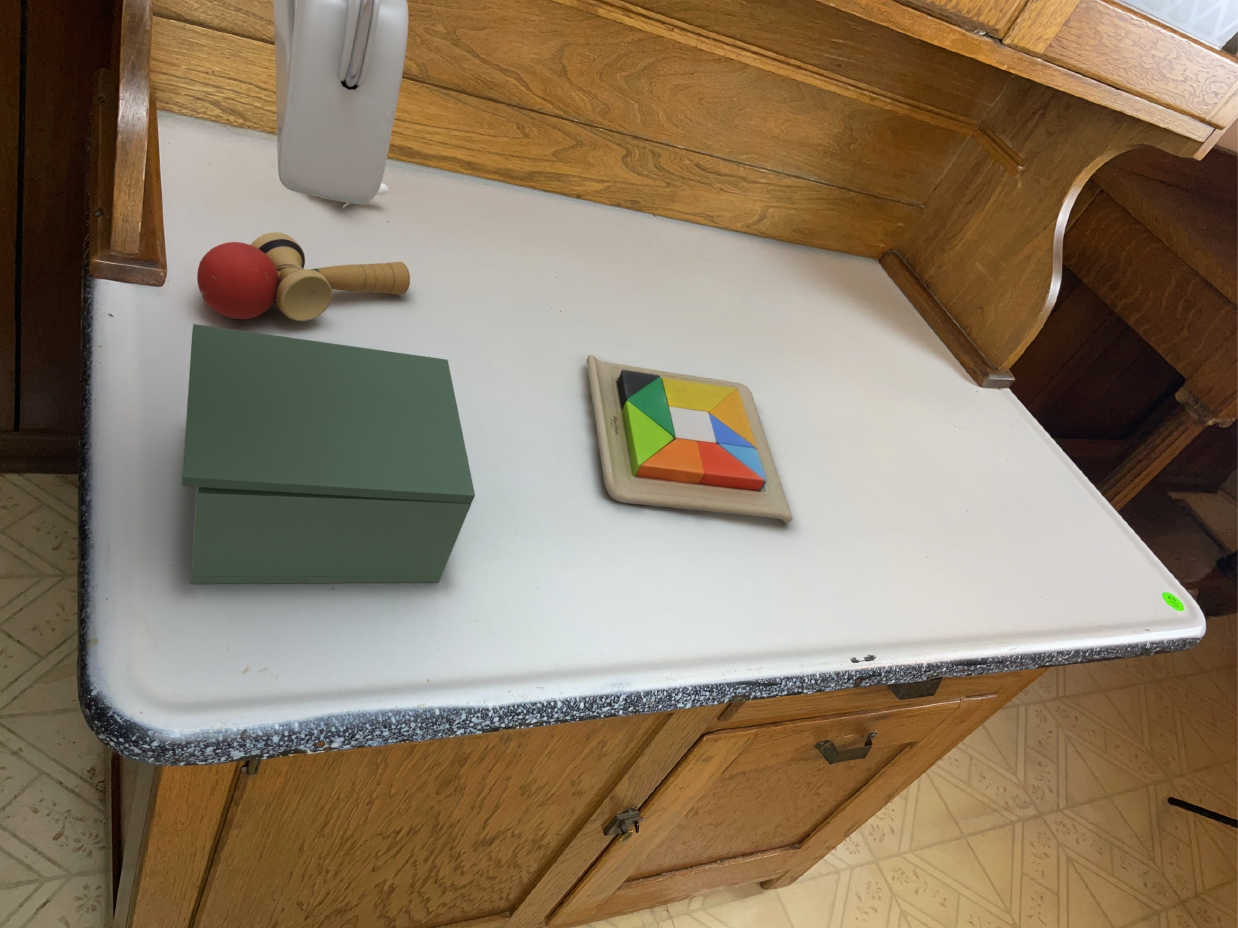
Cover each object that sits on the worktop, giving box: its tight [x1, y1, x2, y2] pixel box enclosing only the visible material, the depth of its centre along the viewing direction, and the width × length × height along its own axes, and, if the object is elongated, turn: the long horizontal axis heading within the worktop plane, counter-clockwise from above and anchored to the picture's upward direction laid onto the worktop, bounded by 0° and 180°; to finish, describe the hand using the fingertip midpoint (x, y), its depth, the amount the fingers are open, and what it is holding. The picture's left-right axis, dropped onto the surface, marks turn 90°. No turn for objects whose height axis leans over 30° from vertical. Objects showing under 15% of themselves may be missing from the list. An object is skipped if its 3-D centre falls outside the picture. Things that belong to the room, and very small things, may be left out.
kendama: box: [196, 231, 411, 322], centre depth 73 cm, size 8×6×18 cm
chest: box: [190, 487, 472, 585], centre depth 57 cm, size 16×13×9 cm
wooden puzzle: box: [586, 354, 793, 524], centre depth 79 cm, size 18×19×4 cm
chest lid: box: [181, 323, 476, 504], centre depth 54 cm, size 16×13×1 cm
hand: (301, 172), depth 41 cm, fingers closed
